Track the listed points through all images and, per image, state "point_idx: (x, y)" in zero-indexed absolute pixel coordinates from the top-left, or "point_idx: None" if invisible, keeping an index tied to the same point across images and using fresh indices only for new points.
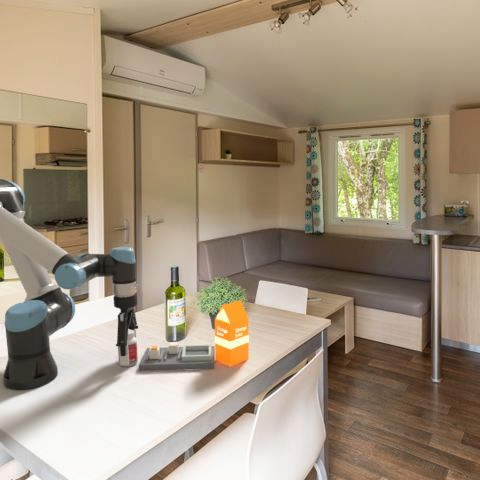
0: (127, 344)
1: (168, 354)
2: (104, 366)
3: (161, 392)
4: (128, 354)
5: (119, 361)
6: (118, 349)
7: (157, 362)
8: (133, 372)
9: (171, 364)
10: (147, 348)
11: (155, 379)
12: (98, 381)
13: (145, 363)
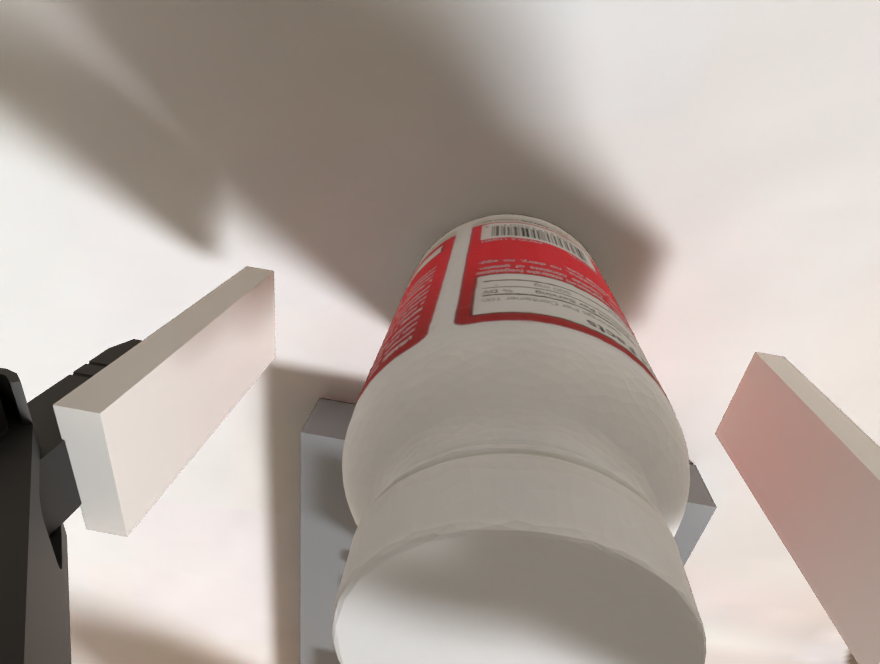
0: (120, 531)
1: None
2: (492, 28)
3: None
4: (218, 421)
5: (457, 235)
6: (462, 284)
7: (339, 547)
8: (295, 348)
9: (302, 610)
10: (699, 510)
11: (176, 480)
12: (96, 9)
13: (329, 472)
